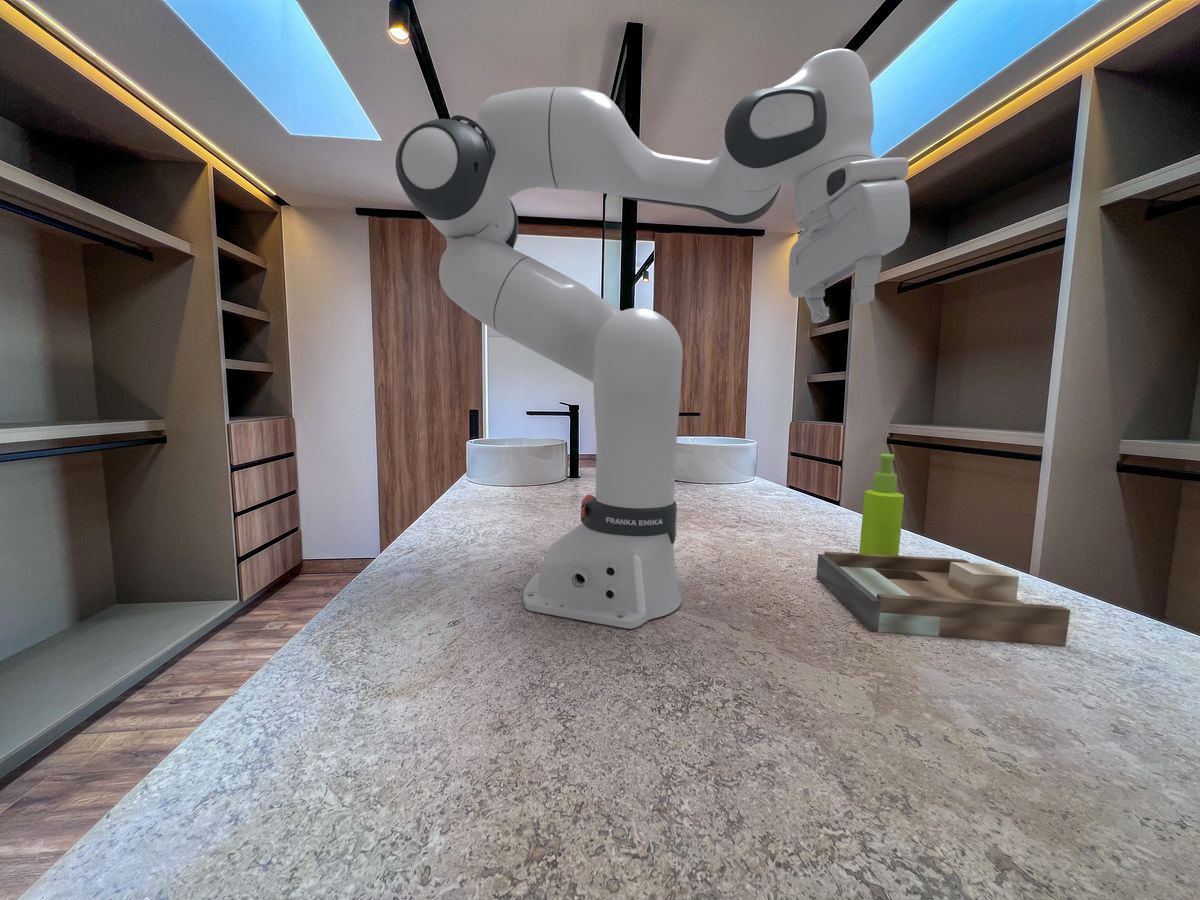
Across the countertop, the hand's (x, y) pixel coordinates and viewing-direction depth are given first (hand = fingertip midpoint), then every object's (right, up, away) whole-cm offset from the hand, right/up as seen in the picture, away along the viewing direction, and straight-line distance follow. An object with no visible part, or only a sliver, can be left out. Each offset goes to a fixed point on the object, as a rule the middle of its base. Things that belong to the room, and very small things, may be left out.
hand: (840, 313), depth 54 cm
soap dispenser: (+20, -39, +23) cm, 49 cm away
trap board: (+15, -40, +6) cm, 43 cm away
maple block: (+22, -38, +5) cm, 44 cm away
